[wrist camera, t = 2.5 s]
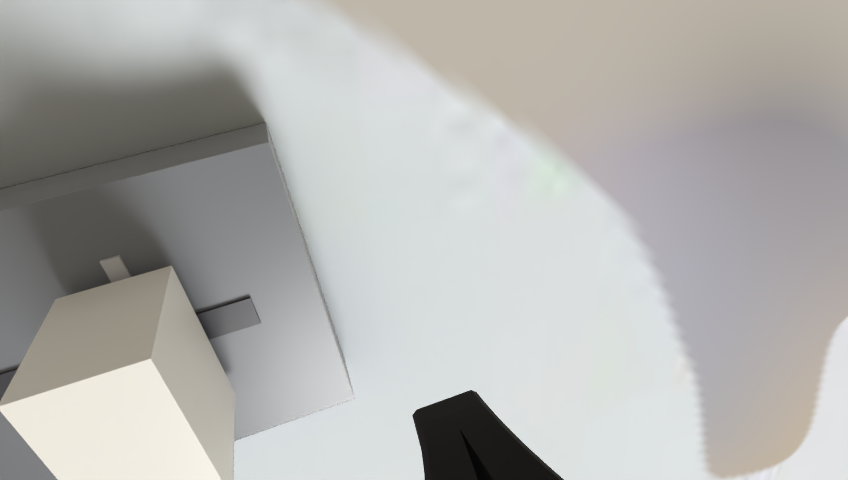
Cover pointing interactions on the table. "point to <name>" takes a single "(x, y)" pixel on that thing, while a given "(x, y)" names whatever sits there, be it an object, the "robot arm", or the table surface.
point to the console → (178, 270)
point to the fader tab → (125, 387)
